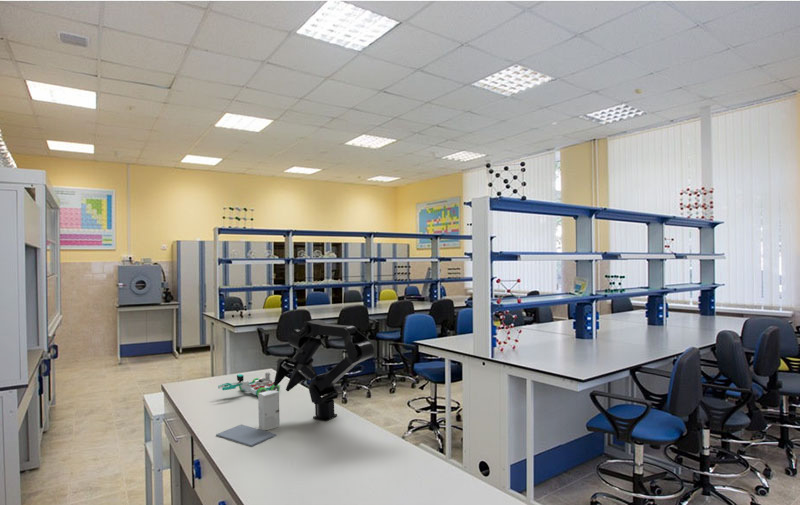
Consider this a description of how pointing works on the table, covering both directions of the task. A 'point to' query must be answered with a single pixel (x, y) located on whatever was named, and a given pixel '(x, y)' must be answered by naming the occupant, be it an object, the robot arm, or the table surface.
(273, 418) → the skincare box
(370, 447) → the table surface
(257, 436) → the blue-gray mat
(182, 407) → the table surface
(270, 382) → the robot kit
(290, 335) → the robot arm
